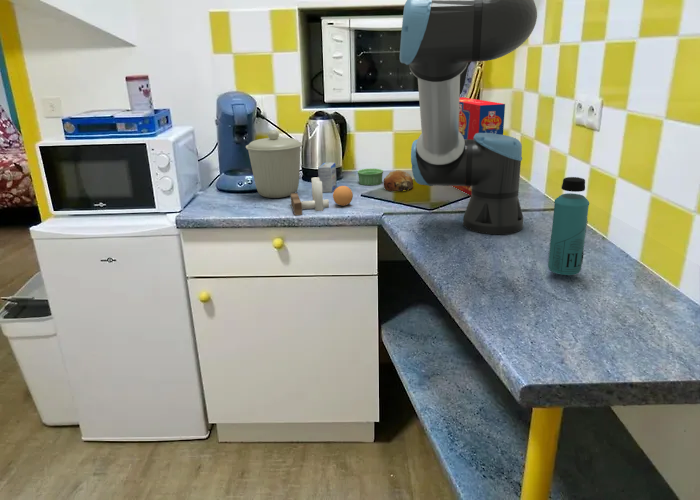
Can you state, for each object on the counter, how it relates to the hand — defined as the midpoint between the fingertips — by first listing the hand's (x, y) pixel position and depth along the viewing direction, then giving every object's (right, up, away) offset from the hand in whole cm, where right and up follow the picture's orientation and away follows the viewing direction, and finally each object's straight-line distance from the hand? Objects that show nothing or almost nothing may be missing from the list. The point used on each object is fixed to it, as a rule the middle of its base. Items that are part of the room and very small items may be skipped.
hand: (446, 121), depth 149 cm
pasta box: (+12, -16, +28) cm, 34 cm away
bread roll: (-11, -16, +30) cm, 35 cm away
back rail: (-43, -24, +9) cm, 50 cm away
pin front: (-34, -22, +11) cm, 42 cm away
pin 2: (-36, -24, +8) cm, 44 cm away
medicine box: (-35, -16, +31) cm, 49 cm away
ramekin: (-20, -13, +38) cm, 45 cm away
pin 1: (-37, -23, +13) cm, 45 cm away
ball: (-29, -20, +11) cm, 37 cm away
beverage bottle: (+16, -42, -42) cm, 61 cm away
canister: (-51, -18, +27) cm, 60 cm away
